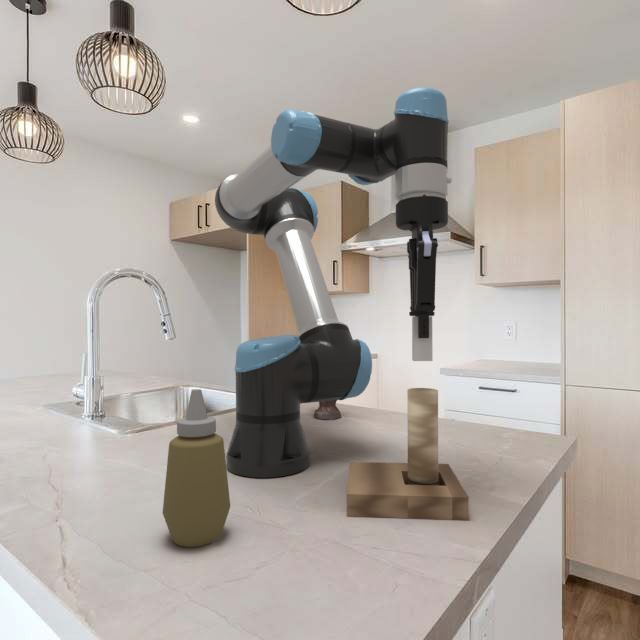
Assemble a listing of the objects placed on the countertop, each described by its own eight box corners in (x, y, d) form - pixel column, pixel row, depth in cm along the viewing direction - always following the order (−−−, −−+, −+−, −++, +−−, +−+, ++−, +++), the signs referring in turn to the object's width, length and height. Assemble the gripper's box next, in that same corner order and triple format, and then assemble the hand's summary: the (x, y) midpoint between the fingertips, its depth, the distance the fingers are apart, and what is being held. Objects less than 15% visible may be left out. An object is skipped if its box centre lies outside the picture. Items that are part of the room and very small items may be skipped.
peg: (409, 504, 66) (408, 392, 66) (406, 492, 70) (405, 387, 70) (441, 505, 65) (440, 392, 65) (436, 493, 70) (435, 388, 70)
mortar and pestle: (296, 415, 126) (296, 343, 126) (317, 411, 132) (317, 341, 132) (329, 422, 118) (328, 344, 118) (349, 416, 125) (349, 343, 125)
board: (346, 516, 62) (346, 493, 62) (349, 479, 76) (349, 461, 76) (468, 520, 60) (468, 497, 60) (448, 482, 74) (448, 463, 74)
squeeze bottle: (235, 521, 60) (234, 384, 60) (224, 552, 52) (223, 395, 52) (173, 522, 60) (172, 385, 60) (153, 554, 52) (152, 395, 52)
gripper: (456, 186, 61) (457, 365, 61) (439, 210, 74) (440, 356, 74) (399, 188, 61) (400, 365, 61) (392, 211, 75) (393, 356, 75)
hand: (422, 360), depth 68 cm, fingers closed
